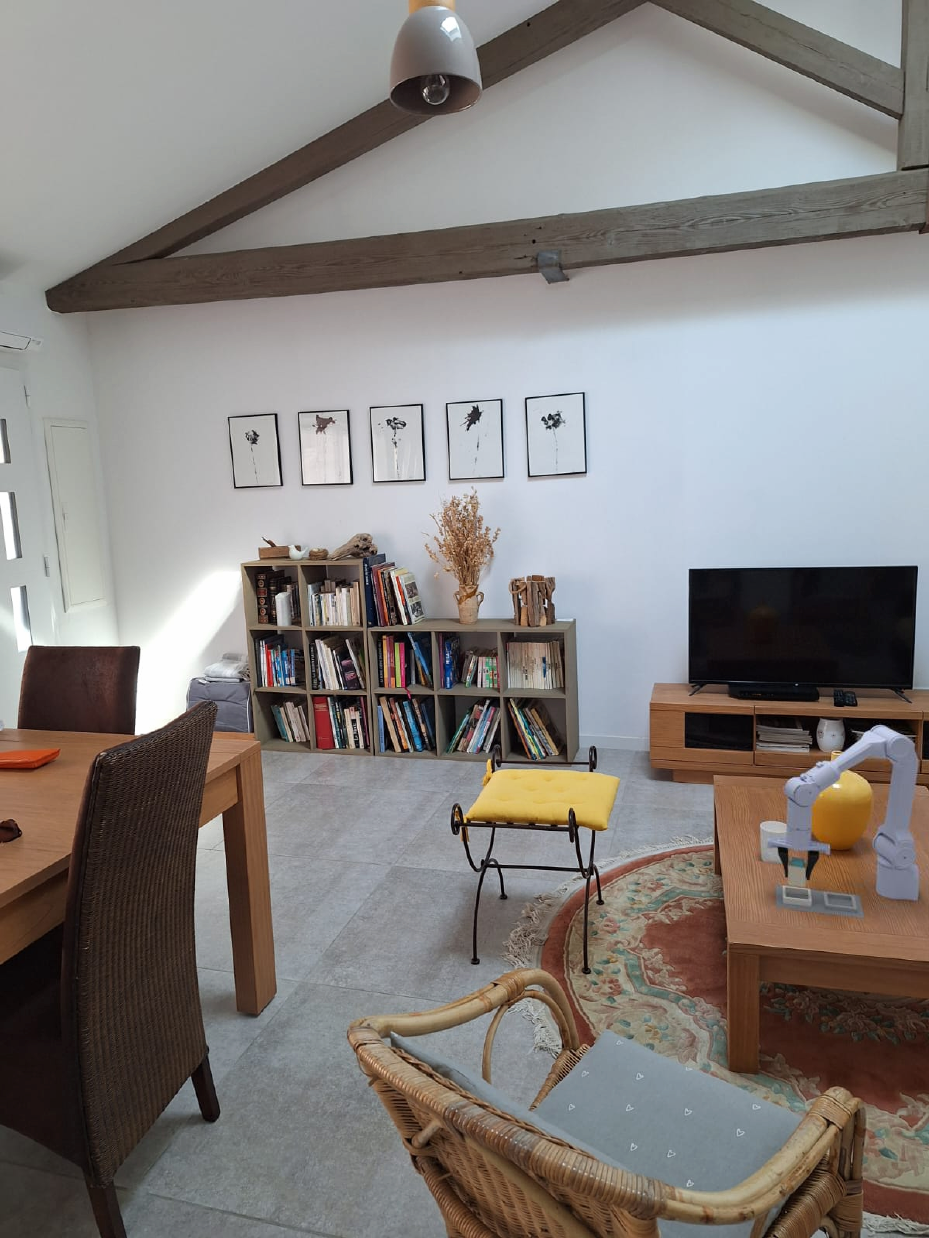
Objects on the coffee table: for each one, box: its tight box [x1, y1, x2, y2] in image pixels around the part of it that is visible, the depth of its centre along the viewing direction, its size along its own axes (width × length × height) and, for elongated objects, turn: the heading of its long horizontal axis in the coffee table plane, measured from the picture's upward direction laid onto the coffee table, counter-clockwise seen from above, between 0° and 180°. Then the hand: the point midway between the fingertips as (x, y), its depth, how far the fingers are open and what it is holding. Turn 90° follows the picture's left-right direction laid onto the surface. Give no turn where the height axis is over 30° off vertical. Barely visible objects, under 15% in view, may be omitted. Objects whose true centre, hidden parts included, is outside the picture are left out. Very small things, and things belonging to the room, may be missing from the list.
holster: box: [823, 891, 857, 913], centre depth 210 cm, size 7×7×1 cm
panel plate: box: [774, 885, 865, 919], centre depth 212 cm, size 20×12×1 cm, turn 71°
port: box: [782, 885, 812, 907], centre depth 213 cm, size 7×7×2 cm
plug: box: [787, 856, 807, 888], centre depth 212 cm, size 4×4×6 cm
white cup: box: [759, 820, 787, 865], centre depth 237 cm, size 8×8×10 cm
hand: (797, 877), depth 212 cm, fingers closed on plug, 4 cm apart
